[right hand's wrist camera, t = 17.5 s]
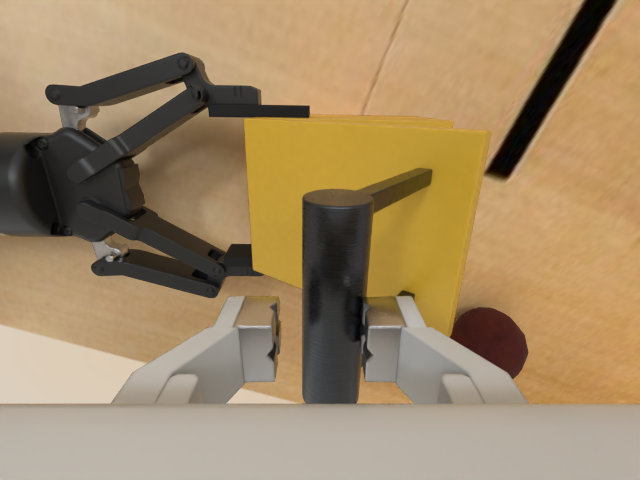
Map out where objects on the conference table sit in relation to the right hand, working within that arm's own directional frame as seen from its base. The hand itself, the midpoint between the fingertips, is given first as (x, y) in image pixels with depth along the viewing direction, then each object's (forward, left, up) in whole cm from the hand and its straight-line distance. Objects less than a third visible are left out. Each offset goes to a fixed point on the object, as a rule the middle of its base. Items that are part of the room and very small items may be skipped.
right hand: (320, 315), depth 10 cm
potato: (-15, +19, -23) cm, 33 cm away
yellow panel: (-2, 0, -10) cm, 10 cm away
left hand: (+1, 0, -16) cm, 16 cm away
